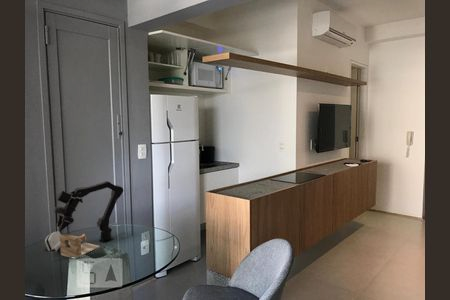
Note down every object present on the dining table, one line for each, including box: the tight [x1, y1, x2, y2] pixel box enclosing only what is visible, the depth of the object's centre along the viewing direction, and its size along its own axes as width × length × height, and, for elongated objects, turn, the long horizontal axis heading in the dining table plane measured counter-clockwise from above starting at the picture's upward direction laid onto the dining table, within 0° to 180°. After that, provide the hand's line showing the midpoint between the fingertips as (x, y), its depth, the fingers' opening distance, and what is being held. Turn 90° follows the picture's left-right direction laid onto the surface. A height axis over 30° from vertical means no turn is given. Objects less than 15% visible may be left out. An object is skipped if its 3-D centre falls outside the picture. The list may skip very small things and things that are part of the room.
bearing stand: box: [59, 233, 101, 258], centre depth 213 cm, size 18×14×12 cm
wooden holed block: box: [67, 233, 87, 246], centre depth 210 cm, size 11×5×5 cm, turn 152°
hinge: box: [44, 230, 62, 252], centre depth 223 cm, size 17×5×10 cm, turn 5°
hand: (58, 228), depth 213 cm, fingers open, 9 cm apart
